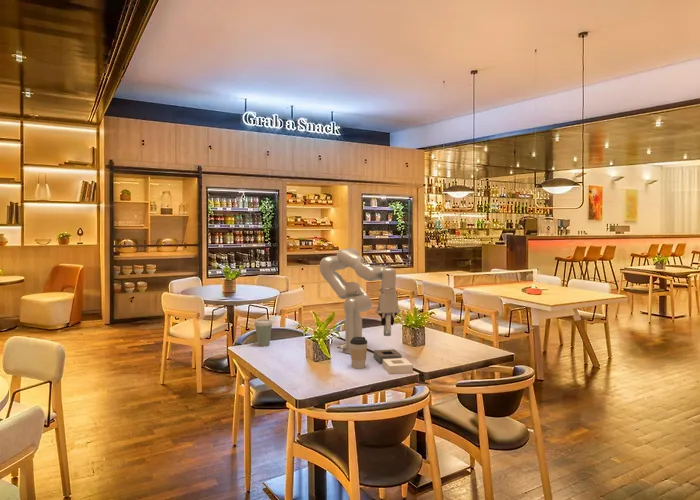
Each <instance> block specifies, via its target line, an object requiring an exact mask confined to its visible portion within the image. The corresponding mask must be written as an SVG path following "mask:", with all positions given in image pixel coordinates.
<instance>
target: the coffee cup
mask: <svg viewBox="0 0 700 500" xmlns="http://www.w3.org/2000/svg"><path fill="white" fill-rule="evenodd" d="M350 345H351V347H350V350H351V354H350V360H351V367H352V368H353V369H359V370H361V369H364V368H366V359H367V352H368V351H367V350H368V339H366V337H365V336H362V337H354V338H352V340H351V341H350Z"/></svg>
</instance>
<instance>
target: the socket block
mask: <svg viewBox="0 0 700 500" xmlns="http://www.w3.org/2000/svg"><path fill="white" fill-rule="evenodd" d="M413 365H414V364H412V362H410V361H409V360H408V359H407V358H405V357H402V358H395V359H383V364H381V366H382V368H383V369H384V370H385V371H386V372H387V373H388V374H389V375H397V374H398V375H400V374H413V372H414V371H413V370H414V369H413V367H414V366H413Z"/></svg>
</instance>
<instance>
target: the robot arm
mask: <svg viewBox="0 0 700 500" xmlns="http://www.w3.org/2000/svg"><path fill="white" fill-rule="evenodd" d="M346 268H350V269H352V270H354V272H355V274H356V275H357V276H358V277H360V278H361V279H364V280H365V281H368V282H374V281H375V282H376V281H381V288H379V289H378V292H380V294H379V297H378V305H377V308H376V309H375V310H374V312H375V314H377V315H378V316H379V317H380V320H381V321H380V323H381V325H382V326H383V327H384V326H385V318H384V316H385V313H392V317H391V326H394V324H395V318H396V317H397V316H398V314H400V313H401V309H400V308H399V301H398V293H397V292H396V283H397V281H396V278H397V275H396V274H397V270H396V269H395V268H393V267H385V266H383V265H381V266H368V265H366V264H365V258H364V257H363V256H361V254H360V252H359V251H358V249H356V248H354V247H353V248H351V247H350V248H342V249H340V250H338V252H337V253H336V255H330V256H326V257H323V258H322V259H321V260H320V262H319V272H320V274H321V276H322V277H323V279H324V280H325V281H326V282H327V283H328V285H330V287H331V289H332V290H333V291H334V292H335V294H336V295H337V297H338V298H339V299H341V300H344V303H343V309H344V315H345V316H344V317H345V326H344V327H345V328H344V329H345V335H344V337H345V339H344V342H343V344H337V345H336V348H337V349H340V350H342V352H343V353H344V354H348V355H351V350H350V347H351V345H350V341H351V340H352V338H354V337H363V319H362V316H361V314H360V313H363V312H368V311H369V310H370V309H371V308H372V305H373V304H372V300H371V298H370V296H369V295H368V293H367V292H366V291H365V290H364V289H363V287H362V286H361V285H360V284H359V283H358V282H356V281H346V280H345V279H344V278H343V277H342V275H341V274H340V273H339V272H337V271H340V270H345V269H346Z"/></svg>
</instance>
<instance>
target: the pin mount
mask: <svg viewBox="0 0 700 500" xmlns="http://www.w3.org/2000/svg"><path fill="white" fill-rule="evenodd" d="M395 358H403V357H402V354H400V352H398V351H397V350H396V349H394V348H393V349H392V348H391V349H377V350H376V349H375V350H373V359H374V360H375V361H376V362H377V363H378V364H379V365H383V359H395Z"/></svg>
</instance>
